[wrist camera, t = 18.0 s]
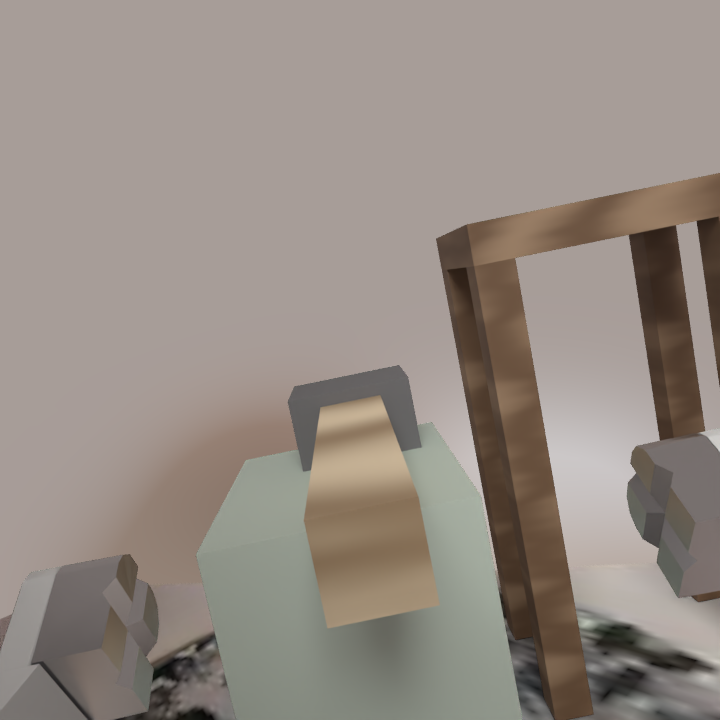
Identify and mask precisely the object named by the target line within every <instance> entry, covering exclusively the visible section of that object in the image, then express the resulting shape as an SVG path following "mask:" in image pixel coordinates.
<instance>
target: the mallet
mask: <svg viewBox="0 0 720 720" xmlns="http://www.w3.org/2000/svg"><path fill="white" fill-rule="evenodd" d="M288 405H289V409H290V414H291V418H292V423H293V428H294V432H295V437H296V441H297V446H298V451H299V455H300V460H301V464H302V469H303V472H305V471H310V470H311V474H310V481H309V488H308V495H307V501H306V508H305V515H304V524H305V528H306V533H307V537H308V542H309V547H310V551H311V556H312V560H313V565H314V569H315V574H316V578H317V583H318V587H319V592H320V596H321V601H322V605H323V610H324V615H325V619H326V624H327V628H333V627H338V626H343V625H347V624H352V623H357V622H362V621H367V620H371V619H376V618H381V617H386V616H391V615H395V614H400V613H405V612H410V611H415V610H419V609H424V608H429V607H434V606H439V605H440V603H439V598H438V593H437V588H436V583H435V578H434V573H433V568H432V563H431V558H430V553H429V548H428V543H427V538H426V532H425V527H424V522H423V517H422V512H421V507H420V502H419V497H418V494H417V492H416V489H415V486H414V484H413V481H412V478H411V476H410V473H409V470H408V468H407V465H406V462H405V460H404V457H403V454H402V451H407V450H412V449H417V448H422V446H421V441H420V436H419V431H418V426H417V421H416V416H415V411H414V405H413V400H412V395H411V390H410V385H409V380H408V376H407V375H406V374H405V372H404V371H403V370H402V368H401V367H400V366H399V365H397V366H393V367H388V368H383V369H378V370H373V371H368V372H363V373H358V374H354V375H349V376H344V377H339V378H334V379H329V380H325V381H320V382H315V383H310V384H305V385H300V386H295V387H294V389H293V391H292V393H291V396H290V398H289V400H288Z"/></svg>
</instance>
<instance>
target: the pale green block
mask: <svg viewBox="0 0 720 720" xmlns="http://www.w3.org/2000/svg"><path fill="white" fill-rule="evenodd" d="M417 426H418V431H419V436H420V441H421V446H422V448H417V449H412V450H407V451H402V454H403V457H404V460H405V462H406V465H407V468H408V470H409V473H410V476H411V478H412V481H413V484H414V486H415V489H416V492H417V494H418V497H419V502H420V507H421V512H422V517H423V522H424V527H425V532H426V538H427V543H428V548H429V553H430V558H431V563H432V568H433V573H434V578H435V583H436V588H437V593H438V598H439V603H440V605H439V606H434V607H429V608H424V609H419V610H415V611H410V612H405V613H400V614H395V615H391V616H386V617H381V618H376V619H371V620H367V621H362V622H357V623H352V624H347V625H343V626H338V627H333V628H327V624H326V619H325V615H324V610H323V605H322V601H321V596H320V592H319V587H318V583H317V578H316V574H315V569H314V565H313V560H312V556H311V551H310V547H309V542H308V537H307V533H306V528H305V524H304V515H305V508H306V501H307V495H308V488H309V481H310V474H311V470H310V471H305V472H303V469H302V464H301V460H300V455H299V451H298V450H293V451H289V452H284V453H279V454H274V455H269V456H264V457H259V458H254V459H250V460H246V461H245V463H244V465H243V467H242V469H241V470H240V472H239V474H238V476H237V478H236V480H235V482H234V484H233V486H232V487H231V489H230V491H229V493H228V495H227V497H226V499H225V501H224V503H223V504H222V506H221V508H220V510H219V512H218V514H217V516H216V518H215V519H214V521H213V523H212V525H211V527H210V529H209V531H208V533H207V534H206V536H205V538H204V540H203V542H202V544H201V546H200V548H199V549H198V551H197V554H196V557H197V561H198V565H199V570H200V574H201V578H202V582H203V586H204V590H205V594H206V598H207V603H208V607H209V611H210V615H211V619H212V623H213V627H214V631H215V636H216V640H217V644H218V648H219V652H220V656H221V660H222V664H223V669H224V673H225V677H226V681H227V685H228V689H229V693H230V697H231V702H232V706H233V710H234V714H235V718H236V720H523V719H522V714H521V709H520V703H519V698H518V693H517V687H516V682H515V677H514V671H513V666H512V660H511V655H510V650H509V644H508V639H507V634H506V628H505V623H504V617H503V612H502V607H501V601H500V596H499V591H498V585H497V580H496V574H495V569H494V565H493V558H492V554H491V548H490V542H489V537H488V532H487V526H486V521H485V516H484V510H483V505H482V499H481V495H480V494H479V492H478V491H477V489H476V488H475V486H474V485H473V483H472V482H471V480H470V479H469V477H468V476H467V474H466V473H465V471H464V470H463V468H462V467H461V465H460V464H459V462H458V461H457V459H456V458H455V456H454V455H453V453H452V452H451V450H450V449H449V447H448V446H447V444H446V443H445V441H444V440H443V438H442V437H441V435H440V434H439V432H438V431H437V429H436V428H435V426H434V425H433V423H432V422H430V423H425V424H420V425H417Z"/></svg>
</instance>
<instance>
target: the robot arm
mask: <svg viewBox="0 0 720 720" xmlns="http://www.w3.org/2000/svg"><path fill="white" fill-rule="evenodd" d="M631 465H632V467H633V468H634V470H635V471H636V474H635V475H634V477H633V478H632V479H631V480H630V481H629V482H628V489H627V500H628V505H629V510H630V514H631V517H632V519H633V521H634V524H635V526H636V528H637V530H638V531H639V533H640V535H641V537H642V538H643V539H644V540H646V541H647V542H649V543H651V544H652V545H654V546H656V547H658V548H659V551H658V557H657V564H658V565H659V567H660V569H661V570H662V572H663V574H664V575H665V577H666V579H667V580H668V582H669V584H670V585H671V587H672V589H673V590H674V592H675V594H676V595H677V597H678V598H682V597H688V596H693V595H698V594H704V593H709V592H715V591H720V428H719V429H714V430H710V431H704V432H700V433H697V434H695V433H693V434H688V435H684V436H679V437H675V438H670V439H666V440H661V441H657V442H653V443H648V444H643V445H639V446H636V447H635V449H634V450H633V452H632V456H631ZM137 571H138V566H137V564H136V563H135V561H134V560H133V558H132V557H131V555H130V554H128V555H120V556H114V557H109V558H103V559H98V560H92V561H87V562H81V563H76V564H71V565H65V566H61V567H56V568H51V569H46V570H40V571H35V572H31V573H30V574H29V575H28V576H27V578H26V579H25V580H24V582H23V583H22V586H21V589H20V592H19V596H18V598H17V601H16V605H15V608H14V610H13V614H12V617H11V620H10V623H9V626H8V629H7V632H6V635H5V638H4V641H3V644H2V647H1V650H0V720H113V719H118V718H122V717H126V716H130V715H134V714H138V713H142V712H147V711H148V708H149V700H150V692H151V685H152V677H153V667H152V666H151V664H150V663H149V661H148V660H147V658H146V656H147V655H148V653H149V652H150V651H151V649H152V648H153V646H154V645H155V644H156V642H157V636H158V627H159V621H158V609H157V603H156V600H155V597H154V594H153V591H152V590H151V588H150V586H149V584H148V583H145V582H143V581H141V580H139V579H137V578H136V576H137Z"/></svg>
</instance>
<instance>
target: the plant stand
mask: <svg viewBox="0 0 720 720" xmlns="http://www.w3.org/2000/svg"><path fill="white" fill-rule="evenodd" d="M694 221H697V226H698V233H699V241H700V248H701V255H702V262H703V270H704V277H705V284H706V291H707V299H708V306H709V313H710V320H711V328H712V335H713V342H714V349H715V356H716V364H717V371H718V378H719V385H720V173H718V174H713V175H708V176H703V177H698V178H693V179H688V180H683V181H678V182H673V183H668V184H664V185H659V186H654V187H649V188H644V189H639V190H634V191H629V192H624V193H619V194H614V195H609V196H605V197H600V198H595V199H590V200H585V201H580V202H575V203H570V204H565V205H560V206H555V207H550V208H546V209H541V210H536V211H531V212H526V213H521V214H516V215H511V216H506V217H501V218H496V219H491V220H487V221H482V222H477V223H472V224H467V225H465V226H463V227H461V228H459V229H456V230H454V231H452V232H450V233H447V234H445V235H443V236H441V237H439V238H437V239H436V241H437V246H438V251H439V257H440V262H441V267H442V273H443V278H444V284H445V289H446V295H447V300H448V305H449V310H450V316H451V321H452V327H453V332H454V338H455V343H456V348H457V353H458V359H459V364H460V370H461V375H462V381H463V386H464V392H465V397H466V402H467V407H468V413H469V418H470V424H471V429H472V435H473V440H474V445H475V451H476V456H477V462H478V467H479V472H480V477H481V483H482V488H483V494H484V499H485V505H486V510H487V515H488V520H489V526H490V531H491V537H492V542H493V548H494V553H495V558H496V564H497V569H498V575H499V580H500V585H501V591H502V596H503V602H504V607H505V612H506V618H507V623H508V626H509V628H510V630H511V632H512V634H513V636H514V638H515V640H518V639H523V638H527V637H532V636H533V639H534V644H535V650H536V655H537V661H538V666H539V672H540V677H541V683H542V688H543V694H544V699H545V701H546V703H547V705H548V707H549V709H550V711H551V713H552V715H553V717H554V719H555V720H568V719H573V718H578V717H583V716H587V715H592V714H593V708H592V702H591V696H590V691H589V685H588V679H587V673H586V667H585V662H584V656H583V650H582V644H581V638H580V632H579V627H578V621H577V615H576V609H575V603H574V598H573V592H572V586H571V580H570V574H569V569H568V563H567V557H566V551H565V545H564V540H563V534H562V528H561V523H560V516H559V510H558V505H557V499H556V494H555V487H554V482H553V476H552V470H551V464H550V458H549V453H548V447H547V441H546V436H545V429H544V423H543V417H542V412H541V406H540V400H539V394H538V388H537V383H536V377H535V371H534V365H533V359H532V354H531V348H530V342H529V337H528V331H527V325H526V319H525V313H524V307H523V302H522V295H521V290H520V284H519V278H518V272H517V266H516V261H515V258H517V257H522V256H526V255H532V254H537V253H541V252H546V251H551V250H556V249H561V248H565V247H571V246H576V245H580V244H585V243H590V242H595V241H600V240H605V239H610V238H615V237H620V236H625V235H629V239H630V245H631V252H632V259H633V265H634V272H635V278H636V285H637V292H638V298H639V305H640V312H641V318H642V325H643V331H644V338H645V345H646V350H647V358H648V365H649V370H650V377H651V384H652V391H653V397H654V404H655V411H656V417H657V424H658V431H659V437H660V441H661V440H666V439H670V438H675V437H679V436H684V435H688V434H693V433H695V434H697V433H700V432H704V431H705V426H704V420H703V412H702V406H701V398H700V391H699V384H698V377H697V370H696V363H695V357H694V349H693V342H692V335H691V328H690V321H689V314H688V307H687V301H686V293H685V286H684V279H683V272H682V265H681V258H680V251H679V244H678V238H677V231H676V225H679V224H684V223H689V222H694ZM692 597H693V598H694V599H695V600H697V601H698V602H701V601H705V600H710V599H715V598H720V591H715V592H709V593H704V594H698V595H693V596H692Z"/></svg>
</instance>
